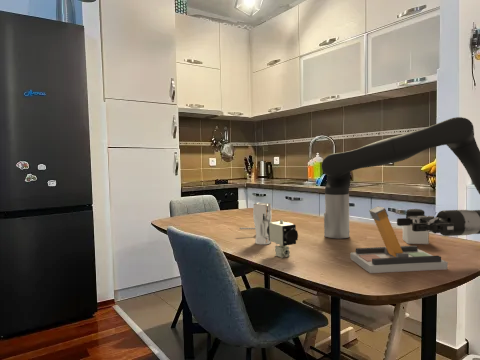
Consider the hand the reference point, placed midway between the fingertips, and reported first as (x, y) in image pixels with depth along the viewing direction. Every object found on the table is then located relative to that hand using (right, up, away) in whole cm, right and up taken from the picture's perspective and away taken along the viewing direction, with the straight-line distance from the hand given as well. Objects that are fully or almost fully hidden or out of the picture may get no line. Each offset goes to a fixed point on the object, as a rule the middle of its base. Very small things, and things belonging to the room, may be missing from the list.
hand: (404, 224), depth 103 cm
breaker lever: (-2, -9, 0) cm, 9 cm away
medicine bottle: (+16, -10, +26) cm, 32 cm away
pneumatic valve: (-34, -12, +12) cm, 38 cm away
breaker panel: (-2, -12, 0) cm, 12 cm away
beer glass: (-40, -11, +31) cm, 52 cm away
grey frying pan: (-40, -11, +45) cm, 61 cm away
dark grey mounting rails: (-2, -10, 0) cm, 10 cm away
